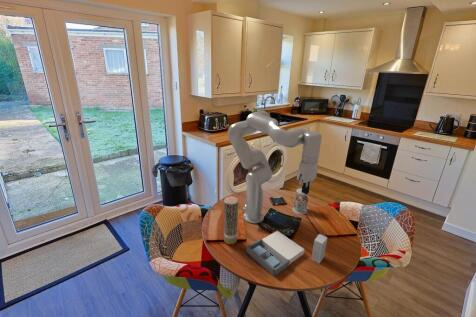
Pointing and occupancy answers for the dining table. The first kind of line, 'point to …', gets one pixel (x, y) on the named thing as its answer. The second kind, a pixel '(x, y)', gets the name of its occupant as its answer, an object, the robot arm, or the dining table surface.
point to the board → (283, 247)
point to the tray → (262, 261)
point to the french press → (298, 207)
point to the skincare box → (319, 248)
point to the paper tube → (230, 219)
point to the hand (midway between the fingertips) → (305, 192)
